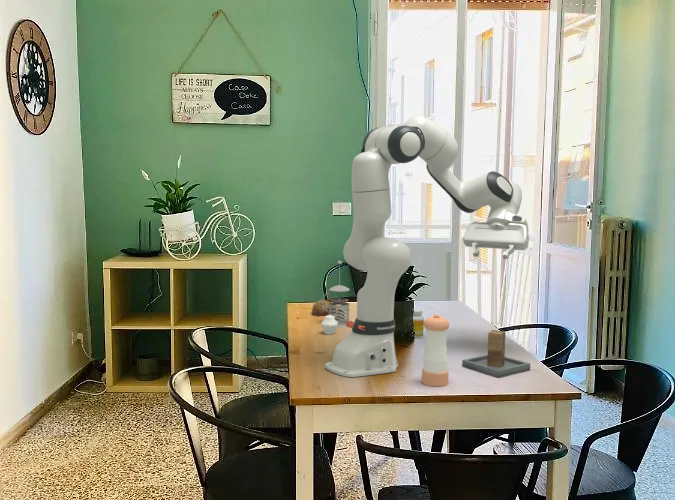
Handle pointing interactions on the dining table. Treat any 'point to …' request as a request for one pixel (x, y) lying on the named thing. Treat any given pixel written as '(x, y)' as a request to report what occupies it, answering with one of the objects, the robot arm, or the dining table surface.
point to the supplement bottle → (418, 323)
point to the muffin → (329, 324)
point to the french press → (339, 301)
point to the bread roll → (321, 308)
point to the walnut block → (496, 348)
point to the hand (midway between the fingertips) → (490, 256)
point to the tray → (507, 369)
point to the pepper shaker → (435, 352)
